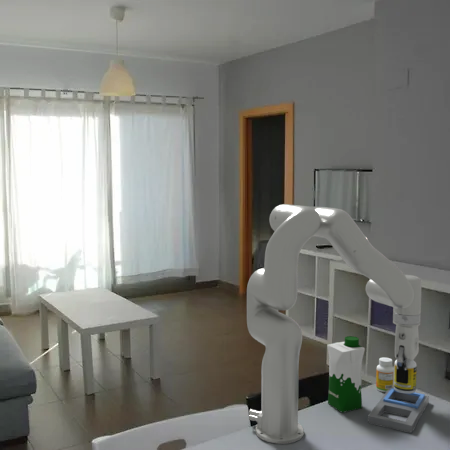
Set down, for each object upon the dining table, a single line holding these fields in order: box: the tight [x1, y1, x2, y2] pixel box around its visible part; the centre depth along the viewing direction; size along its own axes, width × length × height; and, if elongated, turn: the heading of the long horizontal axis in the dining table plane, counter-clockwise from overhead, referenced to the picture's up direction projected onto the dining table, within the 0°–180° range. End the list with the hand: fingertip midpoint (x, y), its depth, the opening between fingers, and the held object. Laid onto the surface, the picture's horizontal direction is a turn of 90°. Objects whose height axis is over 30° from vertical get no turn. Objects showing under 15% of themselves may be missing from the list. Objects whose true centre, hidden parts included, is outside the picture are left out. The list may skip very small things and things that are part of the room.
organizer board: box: [367, 388, 430, 434], centre depth 158 cm, size 12×22×3 cm, turn 149°
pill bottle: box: [393, 357, 418, 394], centre depth 162 cm, size 6×6×11 cm
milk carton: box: [327, 335, 366, 413], centre depth 162 cm, size 9×9×20 cm
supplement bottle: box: [375, 356, 394, 393], centre depth 174 cm, size 5×5×10 cm
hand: (405, 378), depth 162 cm, fingers closed on pill bottle, 6 cm apart
